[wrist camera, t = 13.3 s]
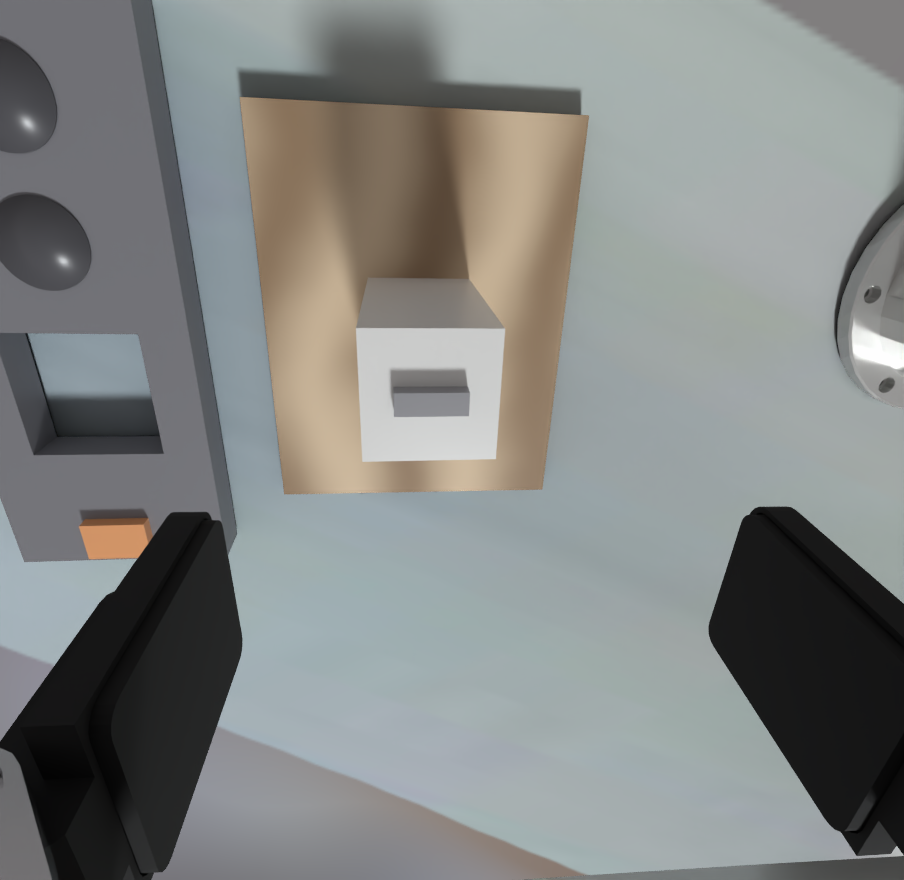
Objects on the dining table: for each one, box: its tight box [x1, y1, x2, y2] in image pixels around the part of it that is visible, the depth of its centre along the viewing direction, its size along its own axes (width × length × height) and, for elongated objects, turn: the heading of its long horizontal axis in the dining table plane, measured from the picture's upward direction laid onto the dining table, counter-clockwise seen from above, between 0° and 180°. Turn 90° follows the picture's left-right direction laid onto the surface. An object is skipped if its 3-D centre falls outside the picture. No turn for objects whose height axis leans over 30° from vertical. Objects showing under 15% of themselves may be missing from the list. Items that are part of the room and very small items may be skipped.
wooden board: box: [240, 97, 589, 494], centre depth 26 cm, size 14×18×1 cm
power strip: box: [0, 0, 237, 562], centre depth 24 cm, size 10×24×3 cm, turn 178°
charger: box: [356, 278, 505, 462], centre depth 22 cm, size 5×5×10 cm
